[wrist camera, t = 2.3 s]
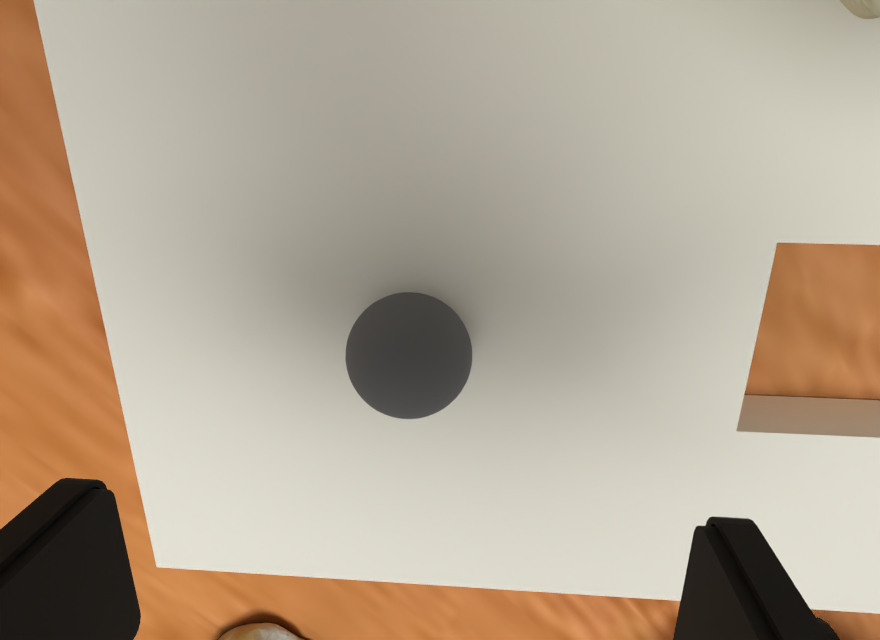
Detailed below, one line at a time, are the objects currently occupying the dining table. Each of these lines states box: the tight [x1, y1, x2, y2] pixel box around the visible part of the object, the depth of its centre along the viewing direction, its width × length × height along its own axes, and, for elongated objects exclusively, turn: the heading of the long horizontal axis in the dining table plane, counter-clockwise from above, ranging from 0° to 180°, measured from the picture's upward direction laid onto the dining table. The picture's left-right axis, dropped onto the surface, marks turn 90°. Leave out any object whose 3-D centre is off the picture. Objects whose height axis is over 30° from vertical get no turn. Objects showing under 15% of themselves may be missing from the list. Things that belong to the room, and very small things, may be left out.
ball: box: [345, 292, 472, 419], centre depth 16 cm, size 4×4×4 cm
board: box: [34, 0, 880, 614], centre depth 18 cm, size 32×20×2 cm, turn 90°
